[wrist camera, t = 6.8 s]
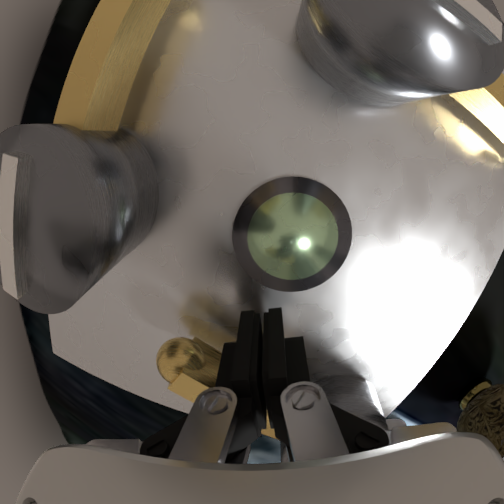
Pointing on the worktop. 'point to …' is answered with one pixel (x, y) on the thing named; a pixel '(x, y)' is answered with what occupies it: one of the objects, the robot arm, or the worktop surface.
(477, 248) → the plate
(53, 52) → the worktop surface
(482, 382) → the cup
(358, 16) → the knob
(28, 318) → the worktop surface
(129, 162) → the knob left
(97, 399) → the worktop surface
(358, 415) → the knob
